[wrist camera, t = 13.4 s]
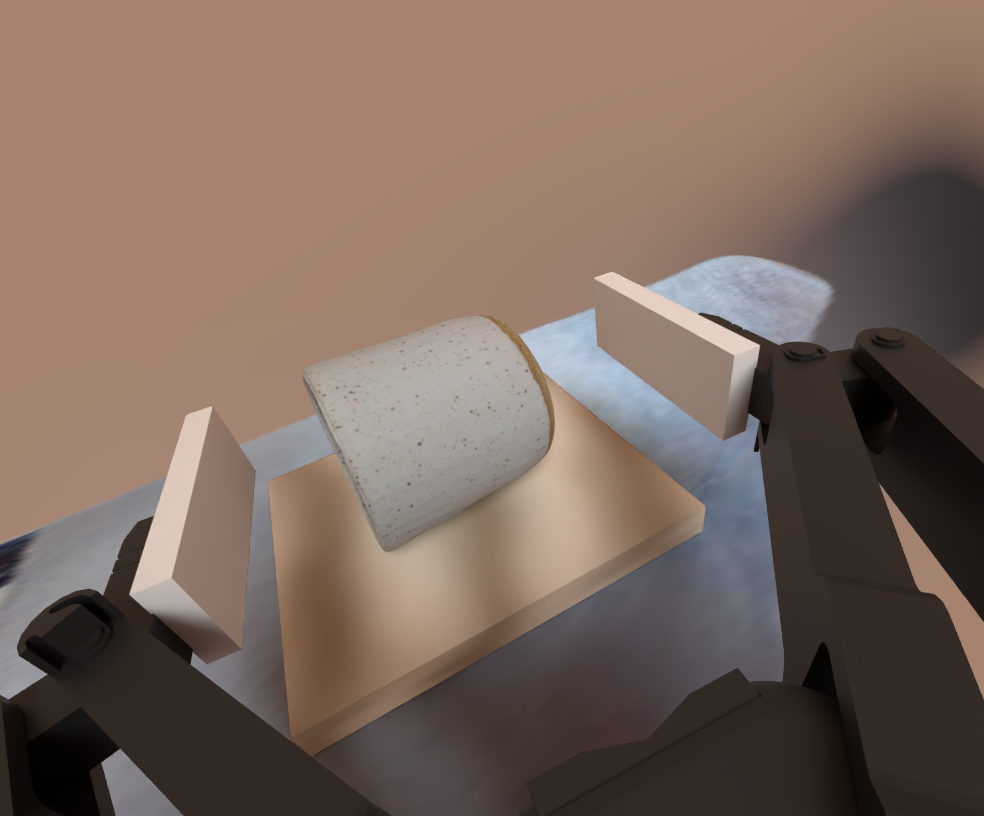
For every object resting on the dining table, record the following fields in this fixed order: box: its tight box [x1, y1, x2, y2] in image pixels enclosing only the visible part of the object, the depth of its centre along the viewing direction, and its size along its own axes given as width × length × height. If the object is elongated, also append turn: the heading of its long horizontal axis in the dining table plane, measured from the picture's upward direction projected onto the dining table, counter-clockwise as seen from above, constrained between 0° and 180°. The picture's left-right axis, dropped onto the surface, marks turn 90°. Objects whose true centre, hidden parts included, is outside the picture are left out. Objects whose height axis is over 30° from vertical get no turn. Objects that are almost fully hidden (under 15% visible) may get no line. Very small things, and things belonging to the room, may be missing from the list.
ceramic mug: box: [302, 315, 555, 552], centre depth 21 cm, size 11×8×8 cm
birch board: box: [268, 373, 706, 756], centre depth 22 cm, size 16×13×2 cm
